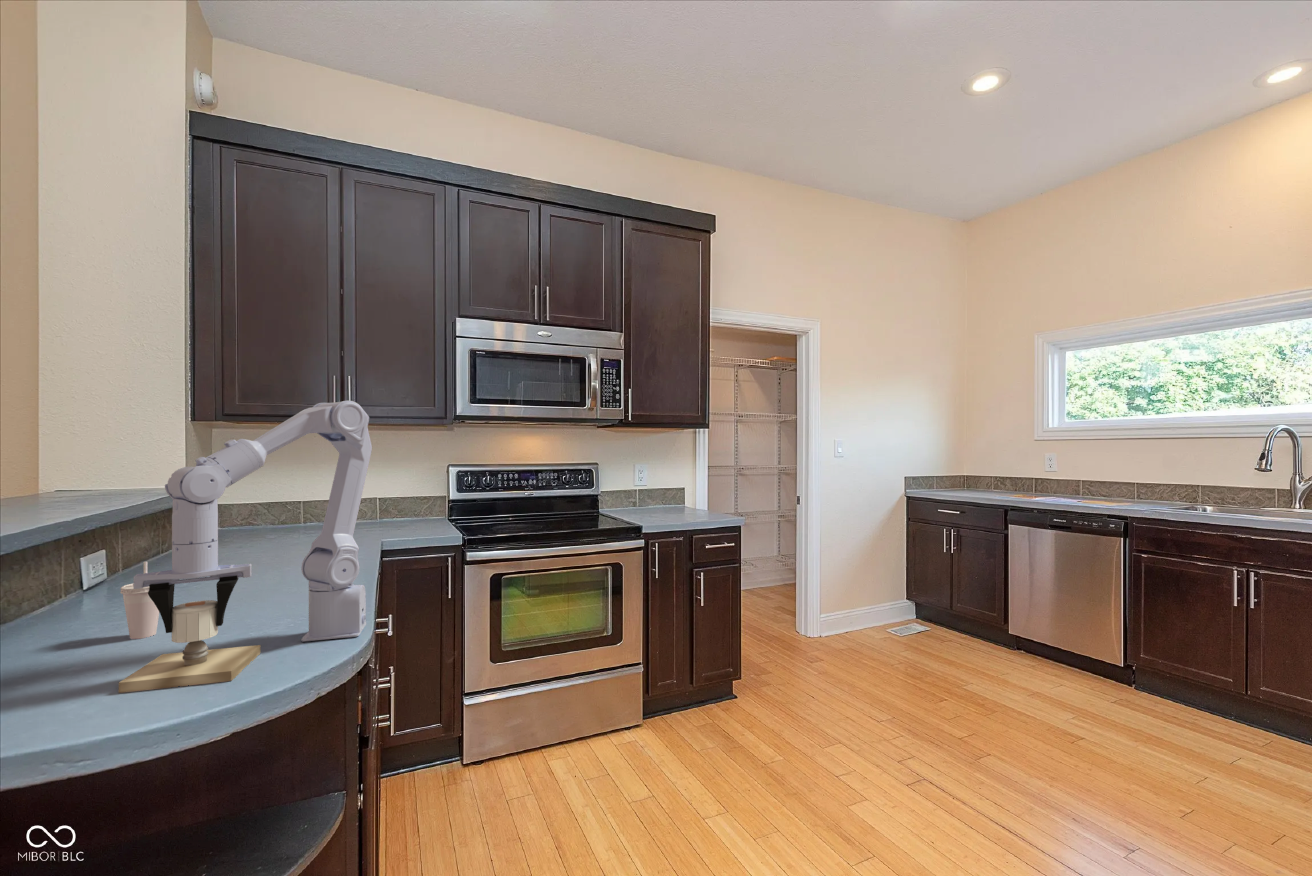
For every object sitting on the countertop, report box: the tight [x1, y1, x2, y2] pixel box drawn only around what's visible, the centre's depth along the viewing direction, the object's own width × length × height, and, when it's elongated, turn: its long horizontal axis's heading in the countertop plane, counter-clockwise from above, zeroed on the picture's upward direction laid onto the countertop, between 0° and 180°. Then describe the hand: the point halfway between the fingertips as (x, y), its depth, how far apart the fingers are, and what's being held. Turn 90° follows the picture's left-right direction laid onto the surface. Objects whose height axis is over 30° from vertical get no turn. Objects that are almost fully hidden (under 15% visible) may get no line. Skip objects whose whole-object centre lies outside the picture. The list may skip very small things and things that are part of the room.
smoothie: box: [119, 561, 160, 640], centre depth 109 cm, size 6×6×14 cm
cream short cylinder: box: [171, 599, 219, 644], centre depth 92 cm, size 6×6×5 cm
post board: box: [118, 640, 262, 694], centre depth 92 cm, size 14×12×5 cm
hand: (195, 627), depth 92 cm, fingers closed on cream short cylinder, 6 cm apart
